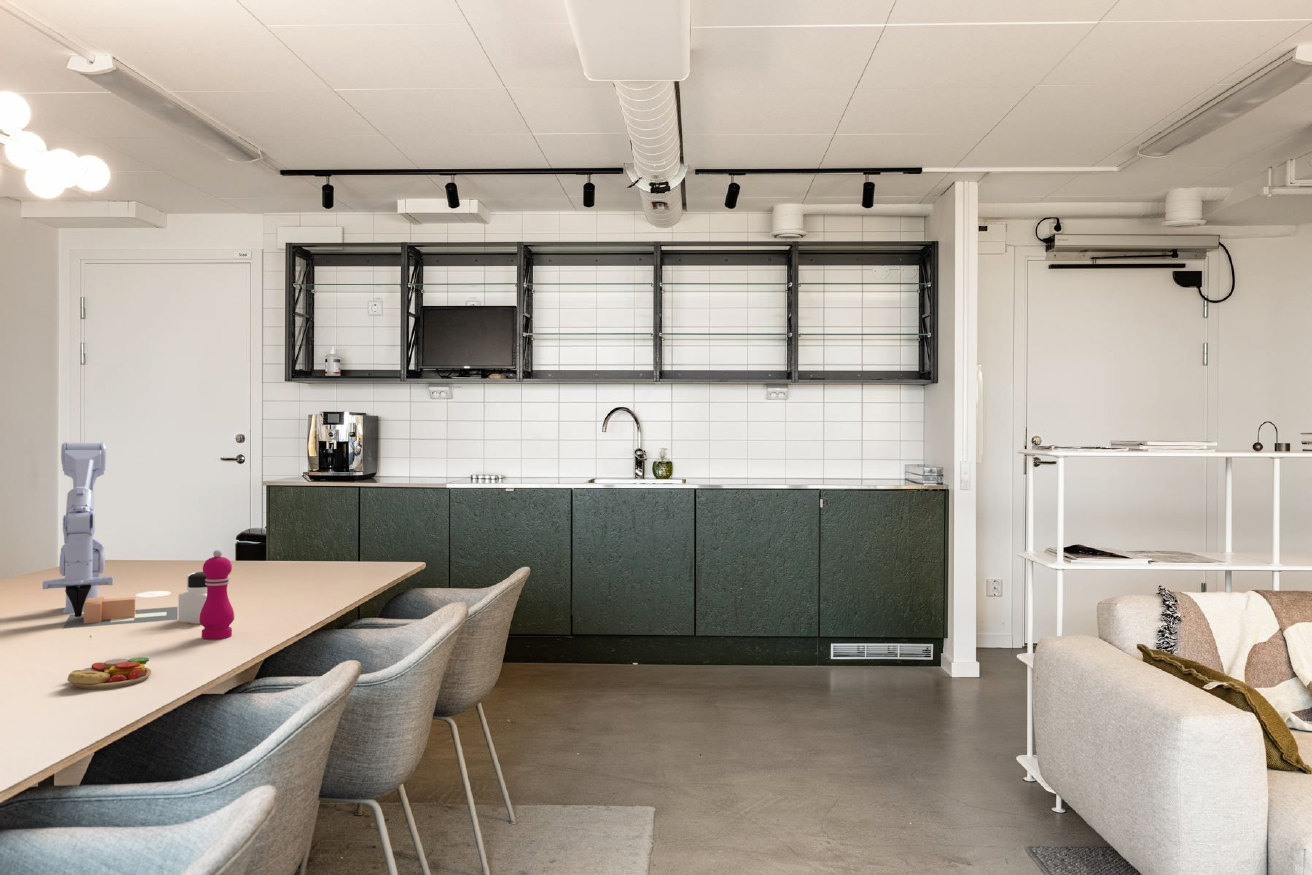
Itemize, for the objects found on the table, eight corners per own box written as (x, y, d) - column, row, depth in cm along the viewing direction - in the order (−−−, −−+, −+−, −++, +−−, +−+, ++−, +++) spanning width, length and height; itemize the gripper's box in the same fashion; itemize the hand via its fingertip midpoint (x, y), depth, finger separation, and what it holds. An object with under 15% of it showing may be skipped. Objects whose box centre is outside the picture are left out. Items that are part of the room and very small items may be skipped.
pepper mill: (241, 634, 207) (242, 548, 207) (216, 641, 200) (217, 552, 200) (216, 632, 209) (217, 547, 209) (191, 638, 203) (192, 550, 203)
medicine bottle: (222, 618, 225) (222, 570, 225) (205, 624, 218) (205, 575, 218) (195, 617, 226) (195, 570, 226) (177, 623, 219) (178, 574, 219)
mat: (70, 616, 226) (70, 614, 226) (177, 608, 237) (177, 606, 237) (62, 630, 210) (62, 628, 210) (177, 620, 221) (177, 619, 221)
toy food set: (62, 695, 160) (62, 677, 160) (76, 676, 172) (76, 659, 172) (147, 687, 165) (147, 669, 165) (155, 669, 177) (155, 653, 177)
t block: (87, 615, 224) (87, 598, 224) (135, 612, 229) (136, 594, 229) (83, 623, 215) (83, 604, 215) (133, 619, 220) (134, 601, 220)
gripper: (40, 564, 212) (40, 621, 212) (112, 561, 219) (111, 616, 219) (45, 561, 218) (44, 616, 218) (114, 557, 225) (113, 611, 225)
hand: (78, 616), depth 219 cm, fingers closed
